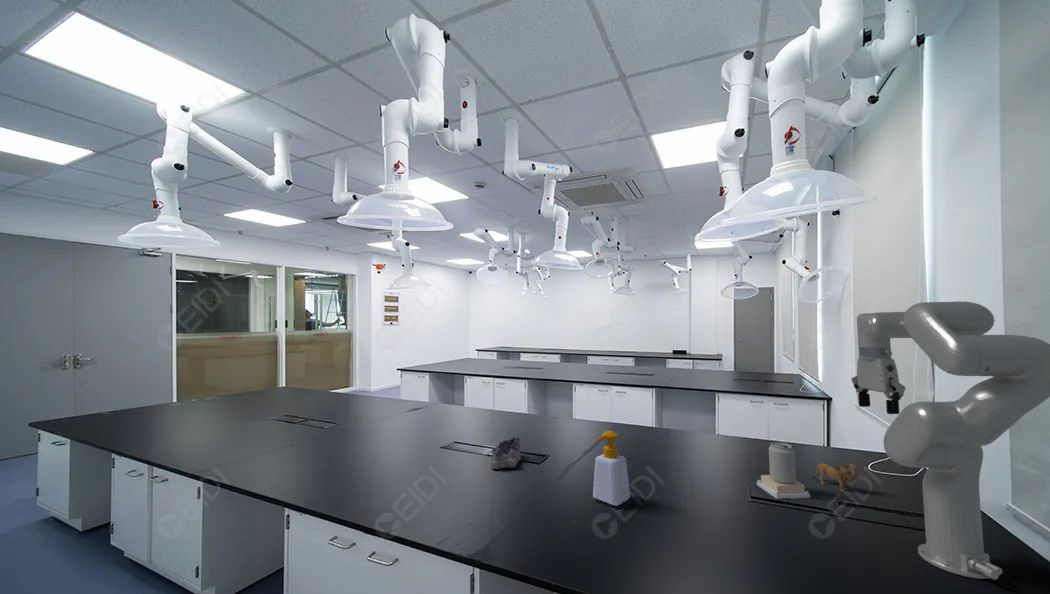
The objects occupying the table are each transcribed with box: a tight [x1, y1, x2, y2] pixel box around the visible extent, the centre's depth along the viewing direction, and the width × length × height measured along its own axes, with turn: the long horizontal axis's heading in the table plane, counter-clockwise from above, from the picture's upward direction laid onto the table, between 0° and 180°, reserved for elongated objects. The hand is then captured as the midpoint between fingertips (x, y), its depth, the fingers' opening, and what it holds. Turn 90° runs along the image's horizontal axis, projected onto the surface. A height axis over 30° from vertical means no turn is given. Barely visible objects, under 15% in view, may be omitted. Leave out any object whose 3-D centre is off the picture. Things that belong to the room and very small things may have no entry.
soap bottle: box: [592, 430, 631, 507], centre depth 131 cm, size 10×14×22 cm
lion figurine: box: [810, 463, 860, 493], centre depth 140 cm, size 15×5×9 cm, turn 30°
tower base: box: [756, 474, 811, 500], centre depth 137 cm, size 11×11×4 cm
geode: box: [490, 436, 522, 469], centre depth 169 cm, size 20×12×10 cm, turn 167°
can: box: [768, 441, 797, 484], centre depth 137 cm, size 8×8×12 cm
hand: (878, 409), depth 123 cm, fingers open, 9 cm apart
